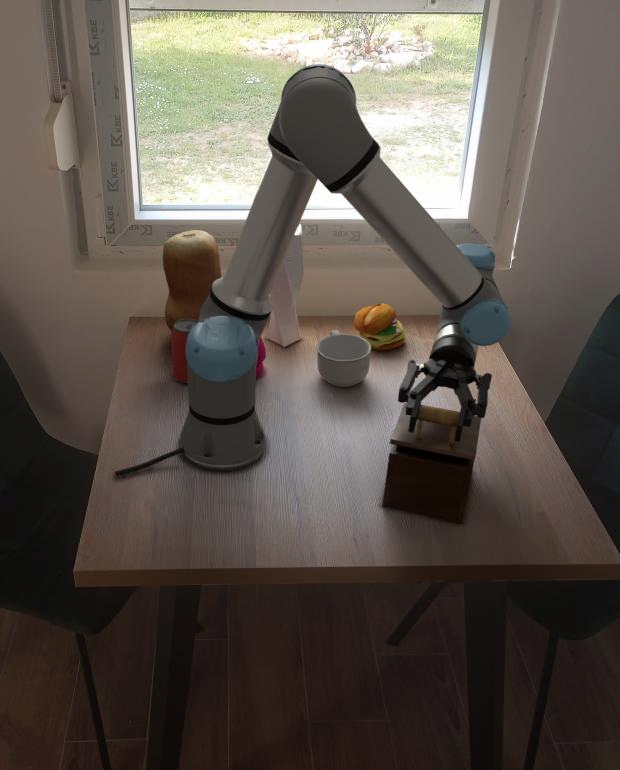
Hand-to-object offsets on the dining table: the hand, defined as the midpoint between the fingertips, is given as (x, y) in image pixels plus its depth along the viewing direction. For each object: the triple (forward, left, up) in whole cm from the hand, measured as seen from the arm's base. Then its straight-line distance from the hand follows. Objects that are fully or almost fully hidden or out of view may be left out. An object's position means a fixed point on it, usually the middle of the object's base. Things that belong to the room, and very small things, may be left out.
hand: (435, 429), depth 116 cm
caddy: (+6, +7, -19) cm, 21 cm away
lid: (+6, +7, -7) cm, 11 cm away
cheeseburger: (+26, +54, -19) cm, 63 cm away
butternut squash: (-11, +71, -19) cm, 74 cm away
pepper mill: (-6, +54, -19) cm, 57 cm away
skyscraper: (+7, +64, -19) cm, 67 cm away
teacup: (+11, +45, -19) cm, 50 cm away
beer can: (-18, +57, -19) cm, 62 cm away
